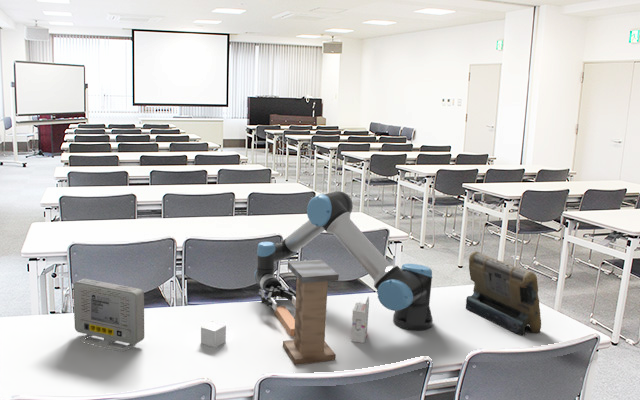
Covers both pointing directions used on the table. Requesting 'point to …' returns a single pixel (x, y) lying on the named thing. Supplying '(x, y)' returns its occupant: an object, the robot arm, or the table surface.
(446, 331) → the table surface
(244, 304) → the table surface
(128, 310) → the network device
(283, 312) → the bar
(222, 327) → the white cube
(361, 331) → the ink cartridge box
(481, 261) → the tablet
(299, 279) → the wooden pedestal stand
